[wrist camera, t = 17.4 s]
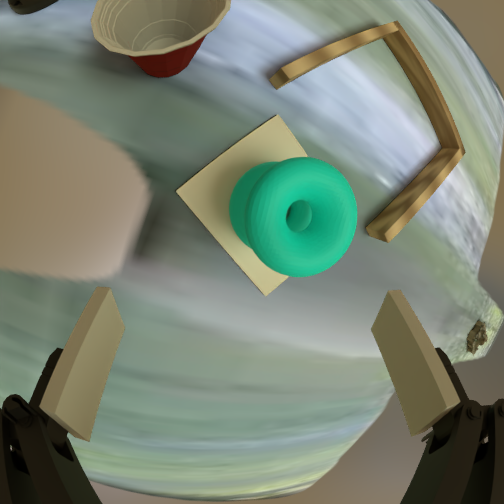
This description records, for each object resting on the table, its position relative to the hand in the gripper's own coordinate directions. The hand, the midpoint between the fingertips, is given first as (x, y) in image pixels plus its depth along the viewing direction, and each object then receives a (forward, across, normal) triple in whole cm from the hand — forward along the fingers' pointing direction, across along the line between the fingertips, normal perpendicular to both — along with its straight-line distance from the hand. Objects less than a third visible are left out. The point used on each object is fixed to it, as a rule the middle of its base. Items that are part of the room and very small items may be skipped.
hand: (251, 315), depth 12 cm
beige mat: (+20, +3, -3) cm, 20 cm away
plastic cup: (+22, -10, +14) cm, 28 cm away
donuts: (+19, +3, -3) cm, 20 cm away
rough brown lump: (+23, +66, -39) cm, 80 cm away
